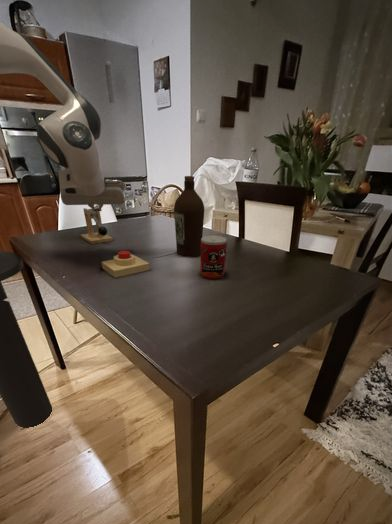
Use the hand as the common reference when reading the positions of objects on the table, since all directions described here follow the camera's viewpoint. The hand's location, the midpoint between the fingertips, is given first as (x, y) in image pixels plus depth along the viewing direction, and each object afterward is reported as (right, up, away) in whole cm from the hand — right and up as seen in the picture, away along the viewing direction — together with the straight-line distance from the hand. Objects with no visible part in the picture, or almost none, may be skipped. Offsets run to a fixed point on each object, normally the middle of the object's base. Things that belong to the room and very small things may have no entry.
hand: (97, 209), depth 100 cm
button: (+12, -21, -10) cm, 26 cm away
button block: (+12, -23, -8) cm, 28 cm away
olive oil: (+32, -13, +7) cm, 36 cm away
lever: (-5, +1, +15) cm, 16 cm away
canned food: (+40, -26, -10) cm, 49 cm away
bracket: (-7, -2, +21) cm, 22 cm away
